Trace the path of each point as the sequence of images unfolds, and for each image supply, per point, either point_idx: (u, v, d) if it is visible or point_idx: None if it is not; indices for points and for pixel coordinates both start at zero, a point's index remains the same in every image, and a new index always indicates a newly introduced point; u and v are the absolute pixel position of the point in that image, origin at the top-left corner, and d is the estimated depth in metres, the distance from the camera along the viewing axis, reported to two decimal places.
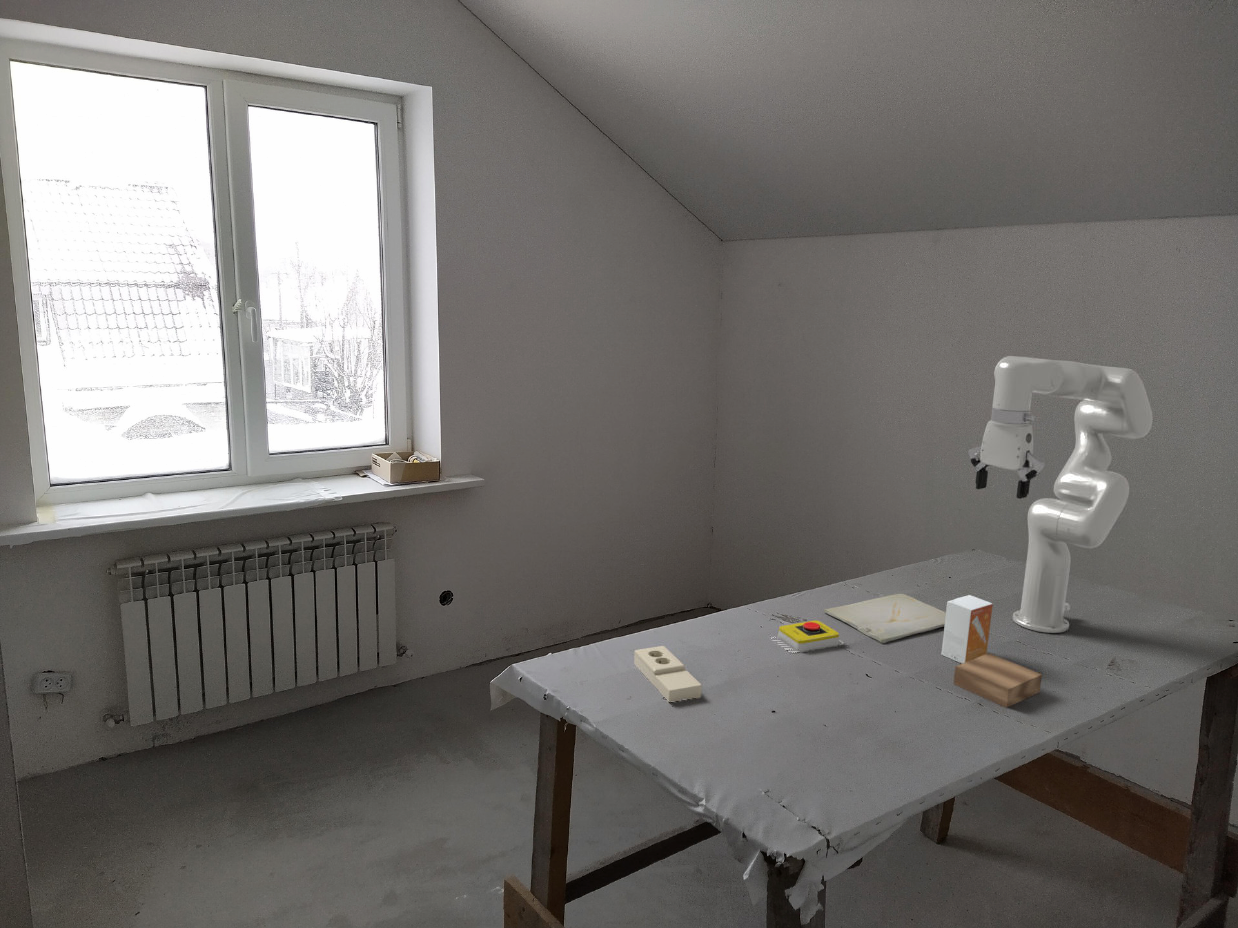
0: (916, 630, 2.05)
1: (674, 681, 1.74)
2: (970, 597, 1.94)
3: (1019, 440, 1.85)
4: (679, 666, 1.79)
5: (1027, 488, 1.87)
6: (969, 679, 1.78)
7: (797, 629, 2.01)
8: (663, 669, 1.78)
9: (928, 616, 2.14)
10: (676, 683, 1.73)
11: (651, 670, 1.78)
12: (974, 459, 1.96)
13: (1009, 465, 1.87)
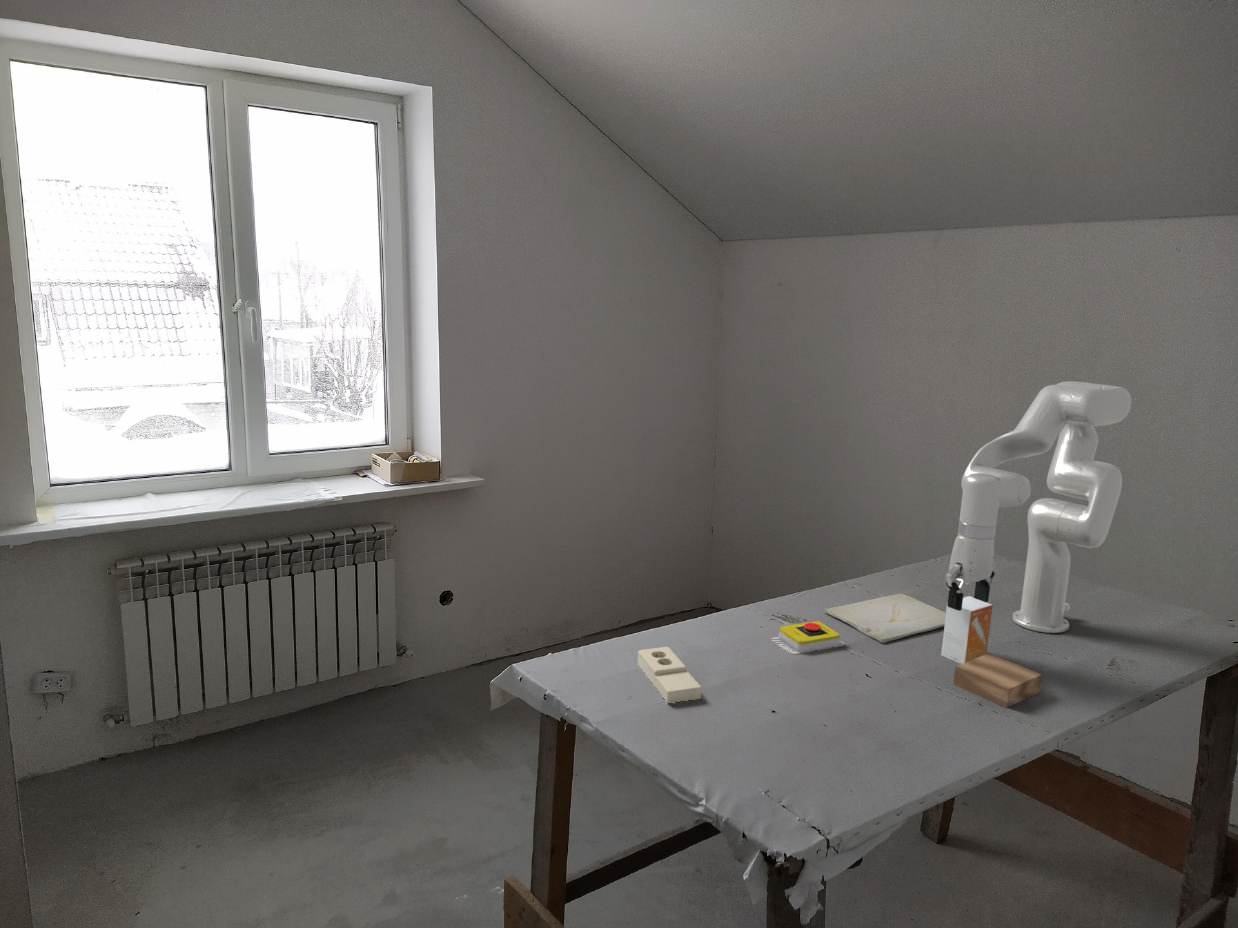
0: (916, 630, 2.05)
1: (673, 682, 1.73)
2: (970, 598, 1.94)
3: (993, 549, 1.89)
4: (680, 667, 1.78)
5: None
6: (969, 679, 1.78)
7: (798, 630, 2.00)
8: (664, 669, 1.77)
9: (928, 616, 2.14)
10: (676, 684, 1.73)
11: (652, 671, 1.78)
12: (955, 583, 1.85)
13: (986, 575, 1.89)
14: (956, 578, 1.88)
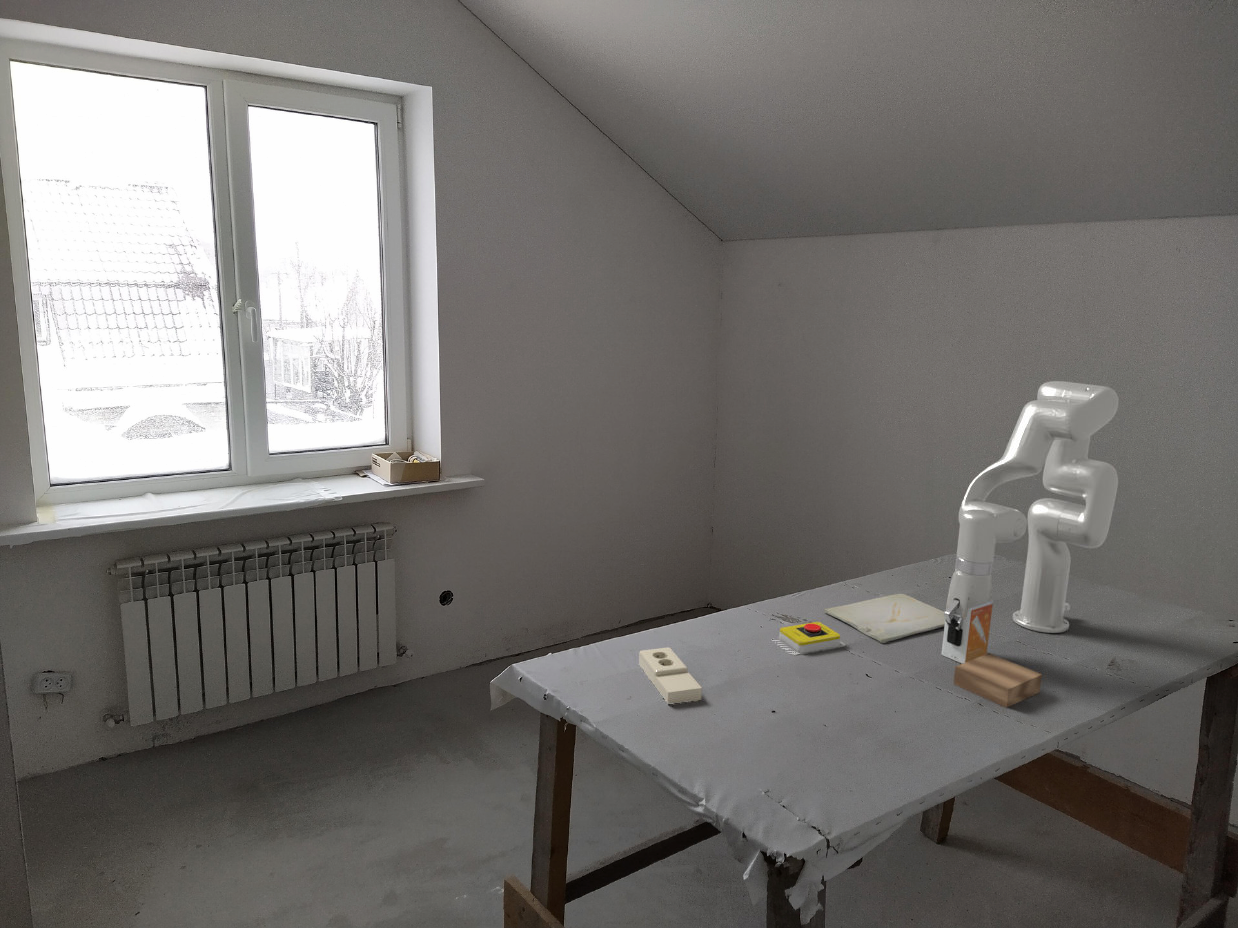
0: (916, 630, 2.05)
1: (674, 683, 1.73)
2: None
3: (990, 584, 1.91)
4: (681, 668, 1.78)
5: None
6: (969, 679, 1.78)
7: (798, 631, 2.00)
8: (665, 670, 1.77)
9: (928, 616, 2.14)
10: (676, 685, 1.72)
11: (653, 671, 1.78)
12: (954, 619, 1.88)
13: None
14: (954, 614, 1.90)
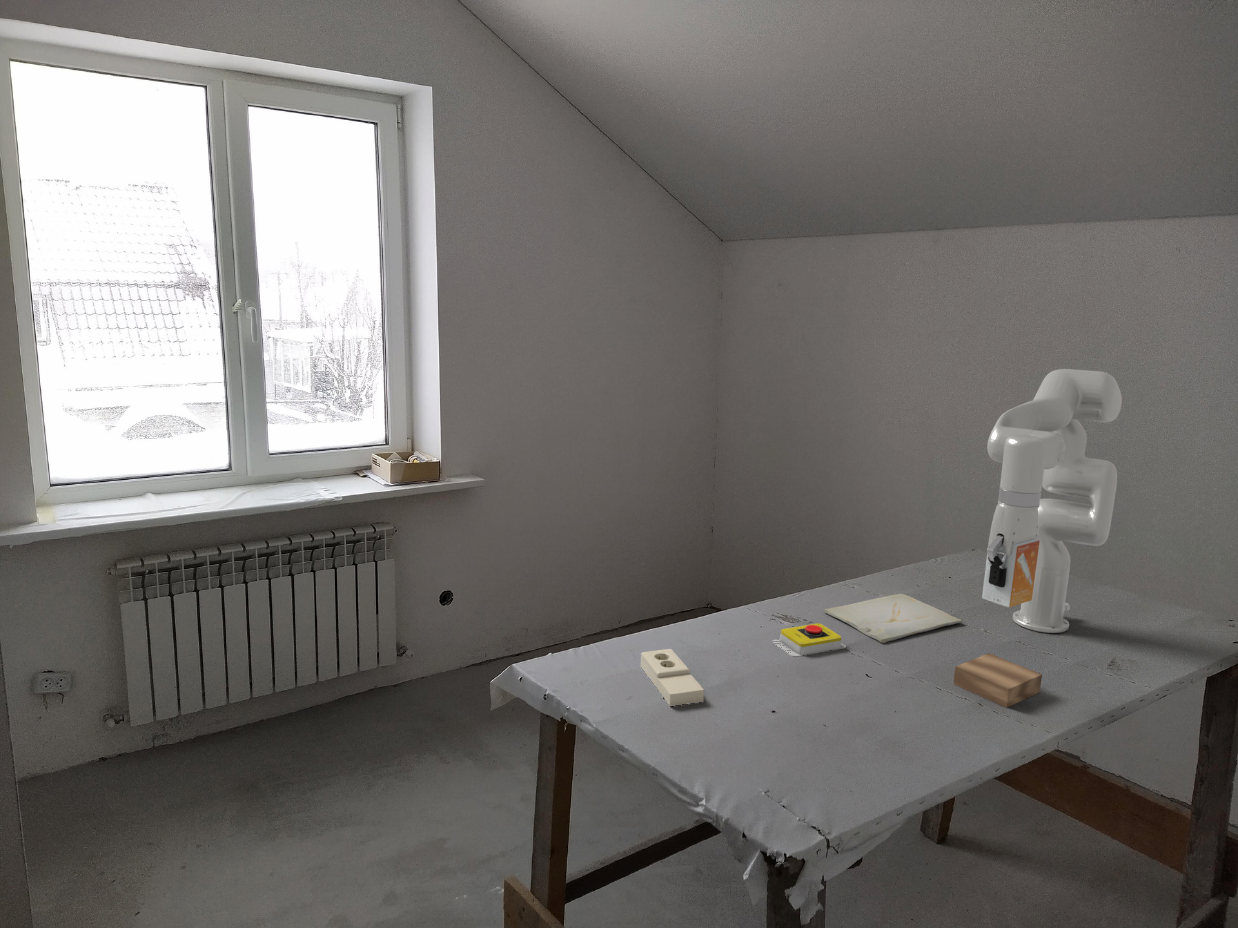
0: (916, 630, 2.05)
1: (676, 685, 1.72)
2: None
3: (1037, 518, 1.72)
4: (683, 670, 1.77)
5: None
6: (969, 679, 1.78)
7: (799, 632, 1.99)
8: (667, 672, 1.76)
9: (928, 616, 2.14)
10: (679, 687, 1.72)
11: (655, 673, 1.77)
12: (998, 557, 1.69)
13: None
14: (998, 552, 1.71)
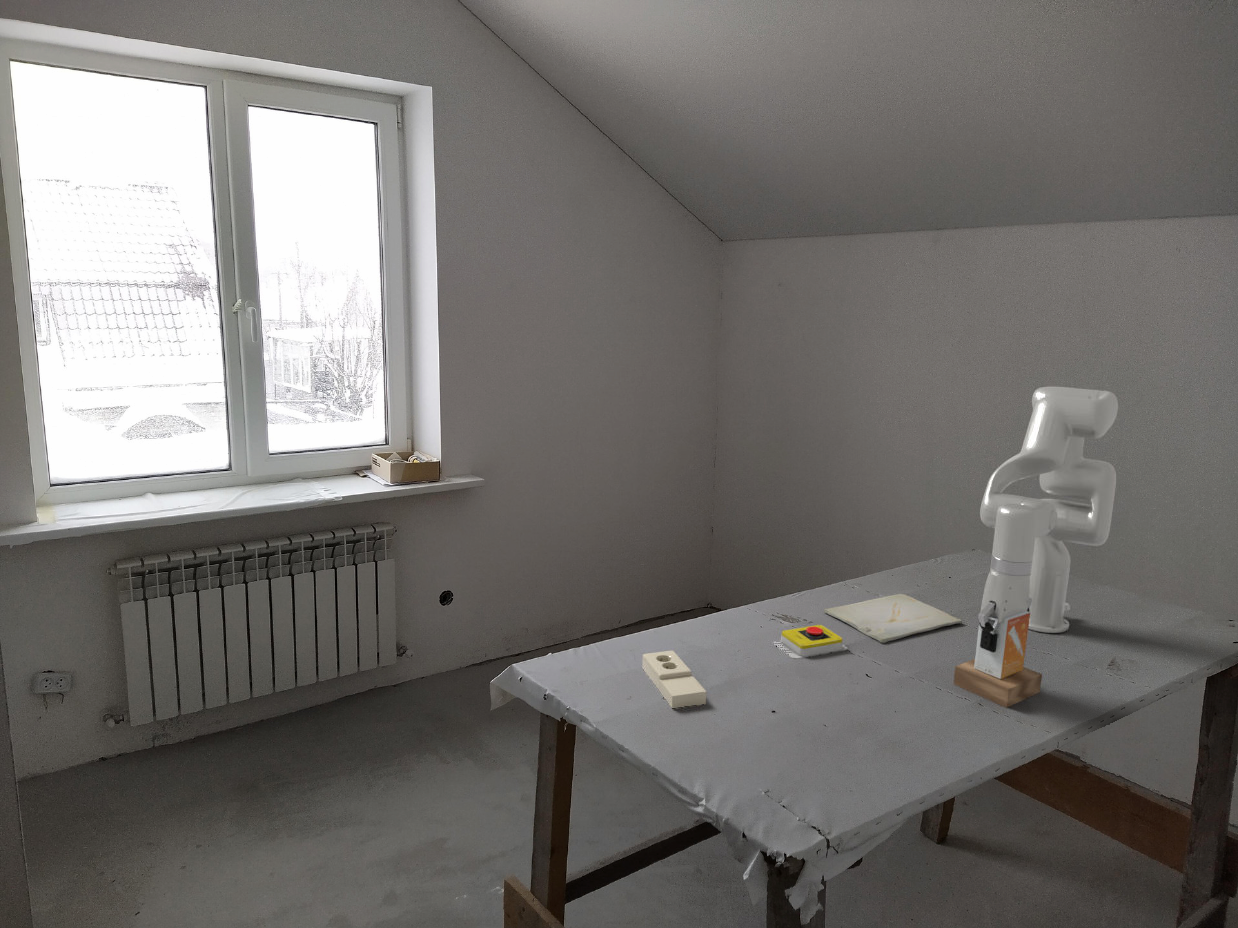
0: (916, 630, 2.05)
1: (678, 687, 1.72)
2: None
3: (1029, 585, 1.75)
4: (685, 671, 1.77)
5: None
6: (969, 679, 1.78)
7: (800, 634, 1.98)
8: (669, 674, 1.75)
9: (928, 616, 2.14)
10: (681, 689, 1.71)
11: (657, 675, 1.76)
12: (989, 623, 1.72)
13: None
14: (989, 617, 1.74)
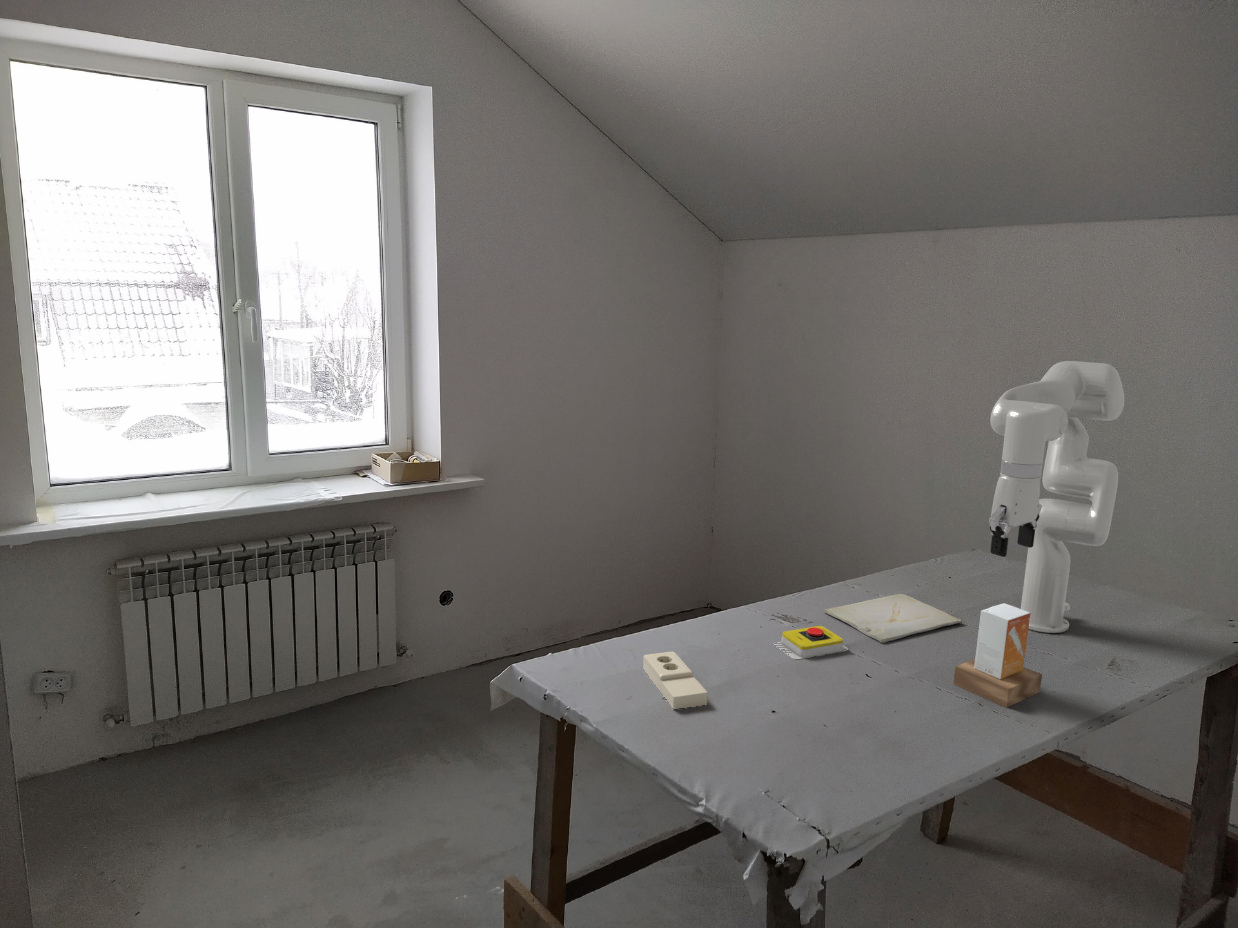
0: (916, 630, 2.05)
1: (679, 688, 1.71)
2: (1005, 606, 1.79)
3: (1039, 489, 1.75)
4: (686, 672, 1.76)
5: None
6: (969, 679, 1.78)
7: (801, 635, 1.98)
8: (670, 675, 1.75)
9: (928, 616, 2.14)
10: (682, 690, 1.70)
11: (658, 676, 1.76)
12: (999, 527, 1.71)
13: (1031, 517, 1.75)
14: (1000, 522, 1.73)
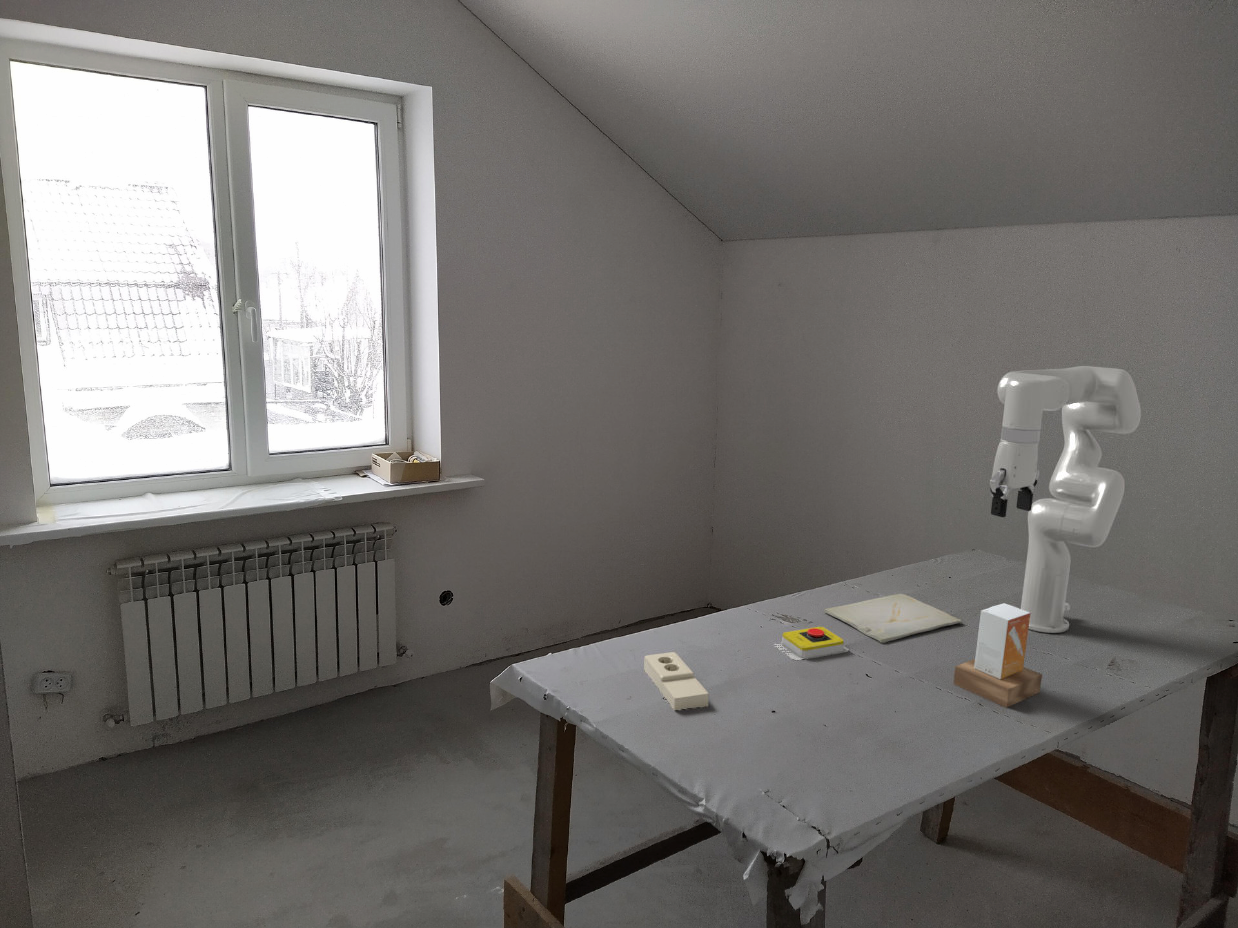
0: (916, 630, 2.05)
1: (680, 689, 1.71)
2: (1005, 606, 1.79)
3: (1037, 455, 1.86)
4: (688, 673, 1.76)
5: None
6: (969, 679, 1.78)
7: (801, 636, 1.97)
8: (671, 676, 1.75)
9: (928, 617, 2.14)
10: (683, 691, 1.70)
11: (659, 677, 1.75)
12: (999, 488, 1.83)
13: (1030, 481, 1.87)
14: (1000, 485, 1.85)
